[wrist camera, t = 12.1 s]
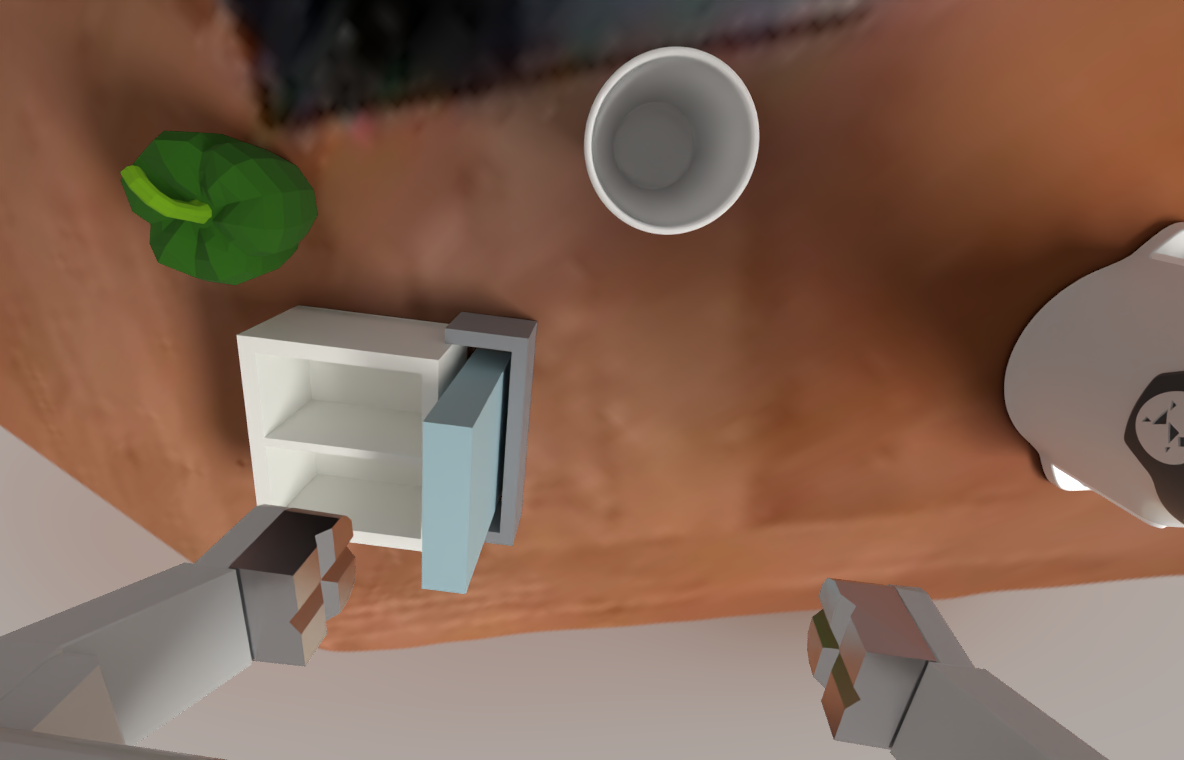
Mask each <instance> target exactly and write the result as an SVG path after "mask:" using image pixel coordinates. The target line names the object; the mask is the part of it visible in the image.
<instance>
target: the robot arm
mask: <svg viewBox="0 0 1184 760" xmlns="http://www.w3.org/2000/svg"><path fill="white" fill-rule="evenodd" d="M1004 396H1005V403H1006V407H1007V411H1008V414H1009V416H1010V419H1011V421H1012V423H1013V424H1014V426H1015V427H1016V429H1017V430H1018V432H1019V433H1020V434H1021V435H1022V436H1023V437H1024V438H1025V439H1026V440H1027V441H1028V442H1029V443H1030V444H1031V445H1032V446H1033V447H1034V448H1035V449H1036V450H1037V452H1038V453H1039V455H1040V459H1041V463H1042V467H1043V470H1044V473H1045V475H1046V478H1047V479H1048V480H1049V481H1050V482H1051V483H1052V484H1054V485H1056V486H1057V487H1059V488H1061V489H1063V490H1067V491H1080V490H1093V491H1095V492H1096V493H1098V494H1099V495H1101V496H1103V497H1104V498H1106V499H1107V500H1109V501H1111V502H1112V503H1114V504H1116V505H1117V506H1119V507H1121V508H1122V509H1124V510H1125V511H1127V512H1129V513H1130V514H1132V515H1134V516H1135V517H1137V518H1139V519H1140V520H1142V521H1144V522H1145V523H1147V524H1149V525H1152V526H1154V527H1158V528H1164V527H1166V526H1170V527H1184V222H1178V223H1174V224H1172V225H1170V226H1168V227H1166V228H1164V229H1163V230H1161V231H1160V232H1159V233H1157V234H1156V235H1155V236H1153V237H1152V238H1151V239H1150V240H1148V241H1147V242H1146V243H1145V244H1143V245H1142V246H1141V247H1140V248H1139V249H1138V250H1136V251H1135V252H1134V253H1133V254H1132V255H1130V256H1128V257H1127V258H1125V259H1123V260H1121V261H1119V262H1116V263H1114V264H1112V265H1109V266H1107V267H1104V268H1102V269H1100V270H1097V271H1095V272H1093V273H1091V274H1089V275H1087V276H1085V277H1083V278H1081V279H1079V280H1078V281H1076V282H1074V283H1073V284H1071V285H1070V286H1068V287H1067V288H1065V289H1064V290H1062V291H1061V292H1060V293H1059V294H1057V295H1056V296H1055V297H1054V298H1052V299H1051V300H1050V301H1049V302H1048V303H1047V304H1046V305H1045V306H1044V307H1043V308H1042V309H1041V310H1040V311H1039V312H1038V313H1037V314H1036V315H1035V316H1034V318H1033V319H1032V320H1031V321H1030V323H1029V324H1028V325H1027V327H1026V328H1025V329H1024V331H1023V332H1022V334H1021V336H1020V337H1019V339H1018V341H1017V343H1016V345H1015V347H1014V349H1013V351H1012V353H1011V356H1010V359H1009V362H1008V365H1007V369H1006V374H1005V382H1004ZM352 537H353V528H352V520H351V519H350V518H348V517H347V516H345V515H338V514H332V513H325V512H319V511H312V510H305V509H299V508H289V507H283V506H276V505H269V504H262V505H259V506H256V507H254V508H253V509H252V510H251V511H250V512H249V513H248V514H247V515H246V516H245V517H244V518H243V519H241V520H240V521H239V522H238V523H237V524H236V525H235V526H234V527H233V528H232V529H231V530H230V531H229V532H227V533H226V534H225V535H224V536H223V537H222V538H221V539H220V540H219V541H218V542H217V543H216V544H215V545H213V546H212V547H211V548H210V549H209V550H208V551H207V552H206V553H205V554H204V555H203V556H202V557H201V558H199V559H198V560H197V561H196V562H195V563H194V564H191V563H183V564H180V565H178V566H175V567H173V568H170V569H168V570H165V571H163V572H160V573H158V574H155V575H153V576H150V577H148V578H145V579H143V580H140V581H138V582H135V583H133V584H130V585H128V586H125V587H123V588H120V589H118V590H115V591H113V592H110V593H108V594H105V595H103V596H100V597H98V598H96V599H93V600H90V601H88V602H85V603H83V604H80V605H78V606H76V607H73V608H71V609H68V610H66V611H63V612H61V613H58V614H55V615H53V616H51V617H48V618H46V619H43V620H41V621H38V622H36V623H33V624H31V625H28V626H26V627H23V628H21V629H18V630H16V631H13V632H11V633H8V634H6V635H3V636H1V637H0V760H225V759H218V758H211V757H205V756H198V755H191V754H184V753H177V752H170V751H164V750H157V749H150V748H142V747H136V746H134V745H135V744H137V743H138V742H139V741H141V740H142V739H144V738H145V737H147V736H148V735H150V734H151V733H153V732H154V731H155V730H157V729H158V728H160V727H161V726H163V725H164V724H166V723H167V722H168V721H170V720H171V719H173V718H174V717H176V716H177V715H179V714H180V713H181V712H183V711H184V710H186V709H187V708H189V707H190V706H192V705H193V704H195V703H196V702H198V701H199V700H200V699H202V698H203V697H205V696H206V695H208V694H209V693H210V692H212V691H213V690H215V689H216V688H218V687H219V686H221V685H222V684H224V683H225V682H226V681H228V680H229V679H231V678H232V677H234V676H235V675H237V674H238V673H239V672H241V671H242V670H244V669H245V668H247V667H248V666H250V665H251V664H252V661H260V662H270V663H279V664H288V665H298V666H306V664H307V663H308V662H309V660H310V659H311V657H312V655H313V654H314V652H315V651H316V649H317V648H318V646H319V645H320V643H321V642H322V640H323V639H324V637H325V636H326V634H327V630H326V621H327V620H328V619H330V618H332V617H334V616H335V615H337V614H339V613H340V612H341V611H342V609H343V607H344V606H345V604H346V602H347V601H348V599H349V596H350V593H351V591H352V588H353V585H354V581H355V573H356V561H355V556H354V555H353V554H352V552H351V551H350V550H349V549H348V548H347V544H348V543H349V542H350V540H351V539H352ZM819 599H820V602H821V604H822V607H823V609H822V610H821V611H820V612H818V613H817V614H816V615H814V616H813V617H812V619H811V623H810V627H809V631H808V644H807V651H808V658H809V664H810V667H811V670H812V674H813V677H814V678H815V679H816V680H817V681H818V682H819V683H820V684H821V685H822V686H823V687H824V688H825V691H824V694H823V697H822V700H821V702H822V705H823V708H824V711H825V714H826V717H827V720H828V723H829V726H830V730H831V732H832V736H833V739H834V740H837V741H842V742H848V743H855V744H860V745H866V746H872V747H878V748H884V749H890V750H891V752H890V753H891V754H892V755H893V756H894V757H895V759H896V760H1108V759H1107V758H1105V757H1104V756H1103V755H1101V754H1100V753H1099V752H1097V751H1096V750H1095V749H1093V748H1092V747H1091V746H1089V745H1088V744H1087V743H1085V742H1084V741H1082V740H1081V739H1080V738H1078V737H1077V736H1076V735H1074V734H1073V733H1072V732H1070V731H1069V730H1068V729H1066V728H1065V727H1063V726H1062V725H1061V724H1059V723H1058V722H1056V721H1055V720H1054V719H1052V718H1051V717H1050V716H1048V715H1047V714H1046V713H1044V712H1043V711H1042V710H1040V709H1039V708H1037V707H1036V706H1035V705H1033V704H1032V703H1031V702H1029V701H1028V700H1026V699H1025V698H1024V697H1022V696H1021V695H1020V694H1018V693H1017V692H1016V691H1014V690H1013V689H1012V688H1010V687H1009V686H1007V685H1006V684H1005V683H1003V682H1002V681H1000V680H999V679H998V678H997V677H995V676H994V675H992V674H991V673H990V672H988V671H987V670H985V669H979V668H975V667H974V665H973V664H972V662H971V661H970V659H969V658H968V656H967V654H966V653H965V651H964V650H963V648H962V646H961V645H960V643H959V642H958V640H957V639H956V637H955V636H954V634H953V632H952V631H951V629H950V628H949V626H948V625H947V623H946V621H945V620H944V619H943V617H942V615H941V614H940V612H939V611H938V609H937V607H936V606H935V604H934V603H933V601H932V600H931V598H930V597H929V595H928V593H927V592H925V591H924V590H923V589H921V588H918V587H909V586H899V585H882V584H874V583H865V582H857V581H849V580H841V579H833V578H827V579H826V580H825V582H824V583H823V584H822V587H821V590H820V593H819Z"/></svg>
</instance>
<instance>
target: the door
mask: <svg viewBox="0 0 1184 760" xmlns="http://www.w3.org/2000/svg"><path fill="white" fill-rule="evenodd" d="M511 356H512V352H505V351H497V350H489V349H481V348H476V350H475V351H474V352H473V354H472V355H471V357H470V358H469V359H468V361H467V362H466V363H465V365H464V366H463V367H462V369H461V370H460V372H459V373H458V374H457V376H456V377H455V378H454V380H453V381H452V383H451V384H450V385H449V387H448V388H447V389H446V391H445V392H444V393H443V395H442V396H441V398H440V399H439V400H438V402H437V403H436V404H435V406H434V407H433V408H432V410H431V411H430V413H429V414H428V415H427V417H426V418H425V419H424V421H423V480H422V589H430V590H438V591H446V592H454V593H462V594H466V592H467V589H468V586H469V583H470V580H471V577H472V575H473V572H474V569H475V566H476V563H477V560H478V558H479V555H480V552H481V549H482V546H483V543H484V541H485V538H486V535H487V532H488V529H489V526H490V524H491V521H492V518H493V515H494V512H495V509H496V507H497V504H498V501H499V498H500V495H501V492H502V490H503V477H504V462H505V447H506V432H507V417H508V402H509V386H510V371H511Z"/></svg>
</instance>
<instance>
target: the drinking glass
mask: <svg viewBox="0 0 1184 760" xmlns="http://www.w3.org/2000/svg"><path fill="white" fill-rule="evenodd" d="M758 150H759V122H758V117H757V112H756V108H755V105H754V102H753V100H752V97H751V95H750V93H749V91H748V89H747V87H746V86H745V84H744V83H743V81H742V80H741V78H740V77H739V76H738V75H737V74H736V73H735V71H733V70H732V69H731V68H730V67H729V66H728V65H727V64H726V63H724V62H723V61H722V60H720V59H718V58H717V57H715V56H713V55H711V54H709V53H707V52H704V51H701V50H698V49H694V48H689V47H679V46H675V47H663V48H658V49H654V50H650V51H648V52H645V53H642V54H640V55H638V56H636V57H634V58H633V59H631V60H629V61H628V62H626V63H625V64H624V65H622V66H621V67H620V68H619V69H618V70H617V71H615V72H614V73H613V74H612V75H611V77H610V78H609V79H608V80H607V81H606V82H605V84H604V85H603V87H602V88H601V89H600V91H599V93H598V94H597V96H596V98H595V100H594V102H593V104H592V107H591V109H590V112H589V115H588V119H587V123H586V128H585V134H584V156H585V163H586V168H587V172H588V175H589V178H590V181H591V183H592V185H593V188H594V189H595V191H596V193H597V195H598V196H599V198H600V199H601V201H602V202H603V203H604V205H605V206H606V207H607V208H608V209H609V210H610V211H611V212H612V213H613V214H614V215H615V216H616V217H618V218H619V219H620V220H622V221H623V222H625V223H626V224H628V225H630V226H632V227H634V228H636V229H639V230H642V231H645V232H648V233H654V234H662V235H673V234H681V233H686V232H690V231H693V230H696V229H699V228H701V227H703V226H705V225H707V224H709V223H711V222H713V221H714V220H716V219H717V218H719V217H720V216H721V215H722V214H724V213H725V212H726V211H727V210H728V209H729V208H730V207H731V206H732V205H733V204H734V203H735V202H736V200H737V199H738V198H739V196H740V195H741V194H742V192H743V191H744V189H745V187H746V186H747V184H748V182H749V180H750V178H751V175H752V173H753V170H754V167H755V164H756V160H757V155H758Z"/></svg>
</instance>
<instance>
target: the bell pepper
mask: <svg viewBox="0 0 1184 760" xmlns="http://www.w3.org/2000/svg"><path fill="white" fill-rule="evenodd" d="M120 173H121V176H122V177H123V178H122V179H121V182H122V185H123V188H124V190H125V193H126V195H127V198H128V201H129V203H130V206H131V209H132V211H133V212H134V213H135V214H137V215H138V216H140V217H141V218H143V219H144V220H146V221H147V222H149V223H150V224H151V230H150V245H151V248H152V250H153V252H154V254H155V257H156V259H157V261H158V263H160V264H163V265H165V266H168V267H170V268H173V269H176V270H178V271H181V272H183V273H186V274H188V275H191V276H193V277H196V278H199V279H202V280H205V281H209V282H216V283H223V284H231V285H237V284H240V283H242V282H245V281H248V280H250V279H253V278H255V277H258V276H260V275H263V274H265V273H268V272H270V271H273V270H276V269H278V268H279V267H281V266H282V265H283V264H284V263H285V262H286V261H287V260H288V259H289V258H290V257H291V256H292V255H293V253H294V252H295V251H296V250H297V249H298V245H299V242H300V241H301V240H302V239H303V238H304V237H305V236H306V234H307V233H308V232H309V230H310V228H311V226H312V224H313V223H314V221H315V219H316V217H317V215H318V213H317V207H316V200H315V194H314V190H313V188H312V187H311V185H310V184H309V182H308V181H307V180H306V178H305V177H304V175H303V174H302V172H301V171H300V170H299V168H298V167H297V166H296V165H294V164H292V163H290V162H289V161H287V160H285V159H283V158H281V157H279V156H278V155H276V154H274V153H271V152H269V151H267V150H265V149H263V148H260V147H257V146H254V145H252V144H249V143H244V142H242V141H239V140H237V139H234V138H231V137H229V136H226V135H223V134H213V133H198V132H179V131H164V132H162V133H161V134H160V135H159V136H158V137H157V138H155V139H154V140H153V141H152V142H151V144H150V145H149V146H148V147H147V148H146V149H145V150H144V151H143V152H142V154H141V155H140V156H139V157H138V158H137V160H136V161H135V162H134V164H133V165H132V166H127V167H126V168H125V169H124V170H122V171H121V172H120Z"/></svg>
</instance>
